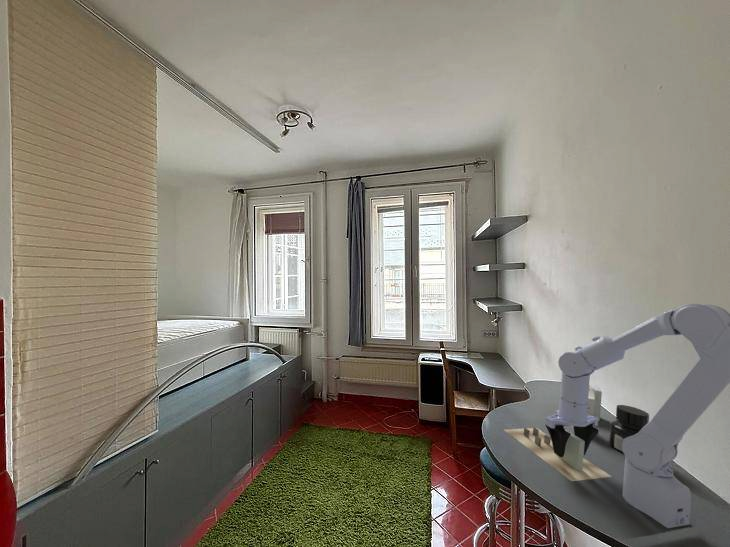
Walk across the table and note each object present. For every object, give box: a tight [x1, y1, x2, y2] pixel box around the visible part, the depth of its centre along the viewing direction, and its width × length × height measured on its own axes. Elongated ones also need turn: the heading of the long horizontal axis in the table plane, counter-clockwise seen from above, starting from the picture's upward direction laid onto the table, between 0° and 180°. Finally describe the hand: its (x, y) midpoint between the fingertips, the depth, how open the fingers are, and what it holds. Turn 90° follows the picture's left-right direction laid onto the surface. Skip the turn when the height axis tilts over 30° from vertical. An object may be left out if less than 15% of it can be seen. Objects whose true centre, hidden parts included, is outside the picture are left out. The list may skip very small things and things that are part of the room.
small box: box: [589, 384, 603, 422], centre depth 106 cm, size 8×6×10 cm
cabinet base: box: [504, 427, 613, 482], centre depth 79 cm, size 22×12×1 cm, turn 14°
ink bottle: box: [608, 404, 650, 455], centre depth 83 cm, size 10×9×12 cm
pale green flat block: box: [556, 429, 585, 471], centre depth 74 cm, size 6×2×7 cm, turn 14°
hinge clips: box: [523, 427, 551, 446], centre depth 84 cm, size 6×4×2 cm
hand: (569, 454), depth 74 cm, fingers open, 6 cm apart
